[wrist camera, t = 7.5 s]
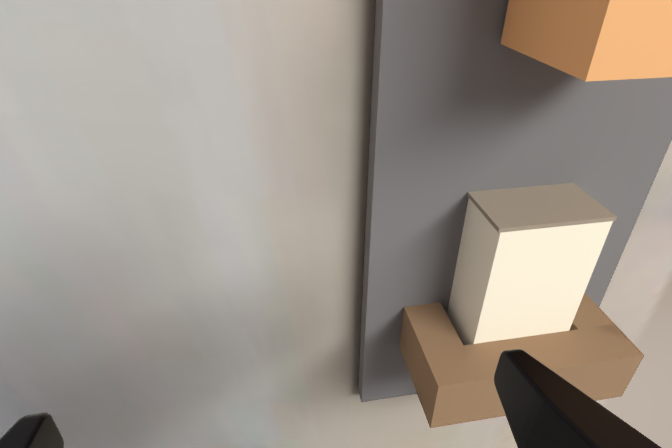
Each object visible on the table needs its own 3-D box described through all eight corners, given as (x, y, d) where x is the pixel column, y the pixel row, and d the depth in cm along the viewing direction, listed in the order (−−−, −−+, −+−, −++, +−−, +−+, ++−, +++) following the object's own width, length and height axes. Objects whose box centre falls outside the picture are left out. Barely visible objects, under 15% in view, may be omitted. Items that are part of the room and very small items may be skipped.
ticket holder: (562, 357, 30) (625, 441, 25) (358, 388, 28) (383, 486, 23) (832, -304, 14) (1160, -432, 9) (391, -346, 12) (500, -544, 7)
